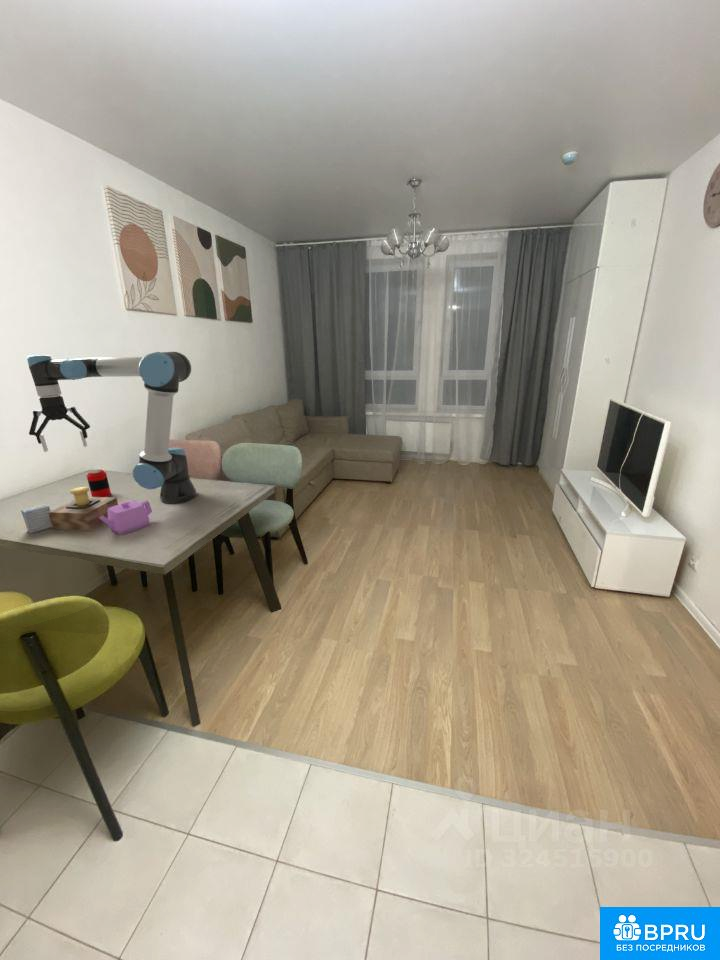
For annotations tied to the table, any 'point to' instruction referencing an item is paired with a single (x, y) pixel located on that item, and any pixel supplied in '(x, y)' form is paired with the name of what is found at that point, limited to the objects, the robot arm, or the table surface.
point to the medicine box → (37, 518)
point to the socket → (81, 514)
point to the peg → (81, 495)
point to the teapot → (128, 516)
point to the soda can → (98, 483)
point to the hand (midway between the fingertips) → (66, 448)
